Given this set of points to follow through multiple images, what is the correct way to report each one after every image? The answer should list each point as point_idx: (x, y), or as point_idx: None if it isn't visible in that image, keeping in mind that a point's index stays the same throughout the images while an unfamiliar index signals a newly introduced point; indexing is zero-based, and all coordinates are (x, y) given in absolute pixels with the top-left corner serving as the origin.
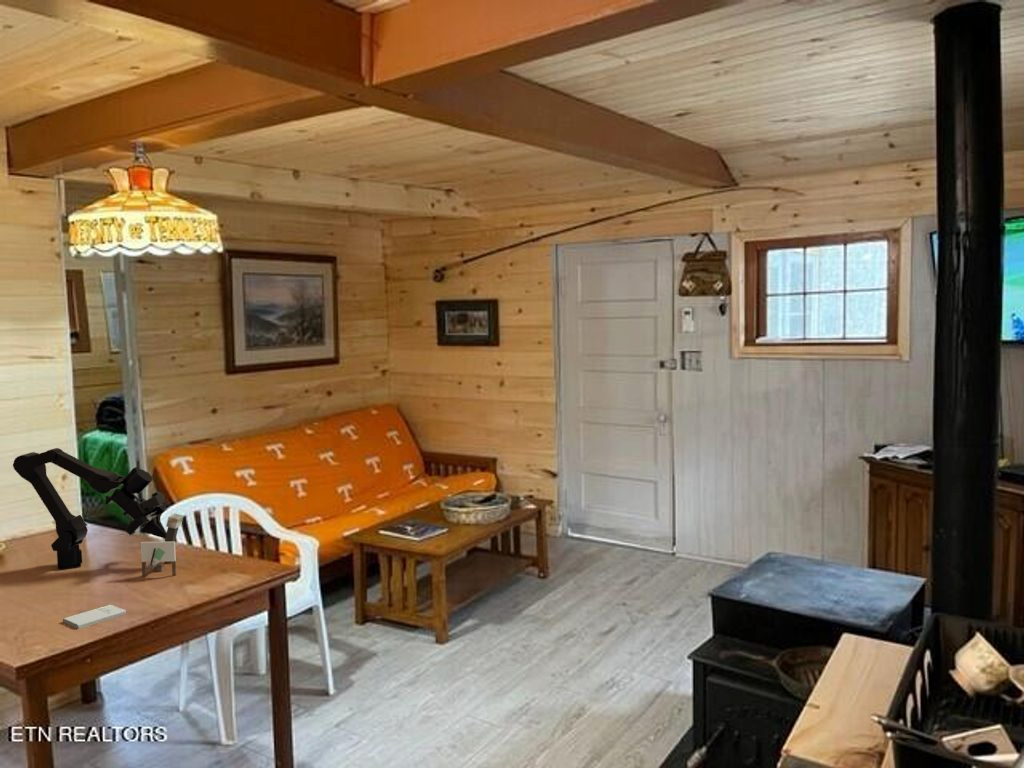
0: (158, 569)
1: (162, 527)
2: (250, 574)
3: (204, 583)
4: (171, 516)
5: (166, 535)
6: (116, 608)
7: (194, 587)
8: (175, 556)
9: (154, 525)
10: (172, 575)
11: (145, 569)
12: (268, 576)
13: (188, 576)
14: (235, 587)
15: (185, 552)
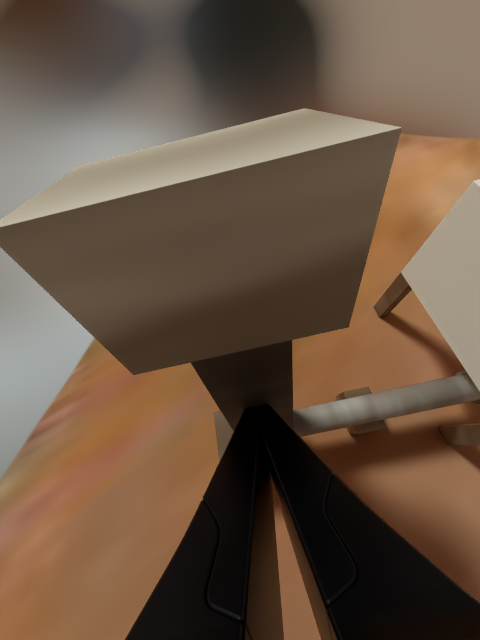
0: None
1: (237, 485)
2: None
3: (401, 197)
4: (286, 144)
5: (291, 389)
6: None
7: (443, 199)
8: (414, 257)
9: (447, 613)
10: (386, 315)
11: (471, 423)
12: None
13: (368, 264)
14: None
15: (87, 454)
